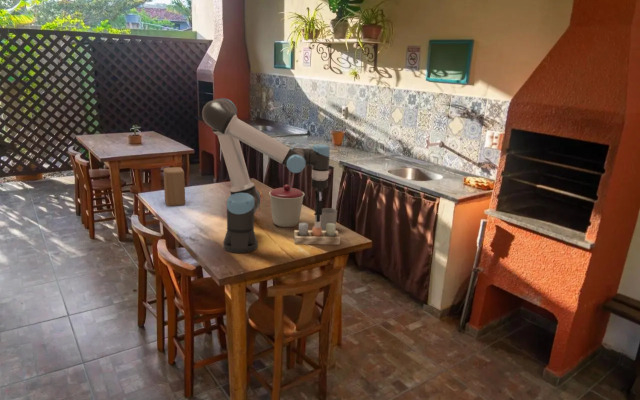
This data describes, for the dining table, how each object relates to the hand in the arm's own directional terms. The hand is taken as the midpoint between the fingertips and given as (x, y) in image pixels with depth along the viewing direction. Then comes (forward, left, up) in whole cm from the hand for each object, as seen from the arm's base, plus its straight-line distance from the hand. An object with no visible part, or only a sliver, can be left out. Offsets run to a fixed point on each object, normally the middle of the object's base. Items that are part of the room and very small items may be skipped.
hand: (317, 227), depth 212 cm
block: (-76, +53, -7) cm, 93 cm away
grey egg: (-7, 0, -4) cm, 7 cm away
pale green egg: (+6, 0, -4) cm, 7 cm away
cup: (+7, +15, -7) cm, 18 cm away
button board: (0, 0, -7) cm, 7 cm away
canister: (-14, +22, -7) cm, 27 cm away
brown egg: (0, 0, -5) cm, 5 cm away
